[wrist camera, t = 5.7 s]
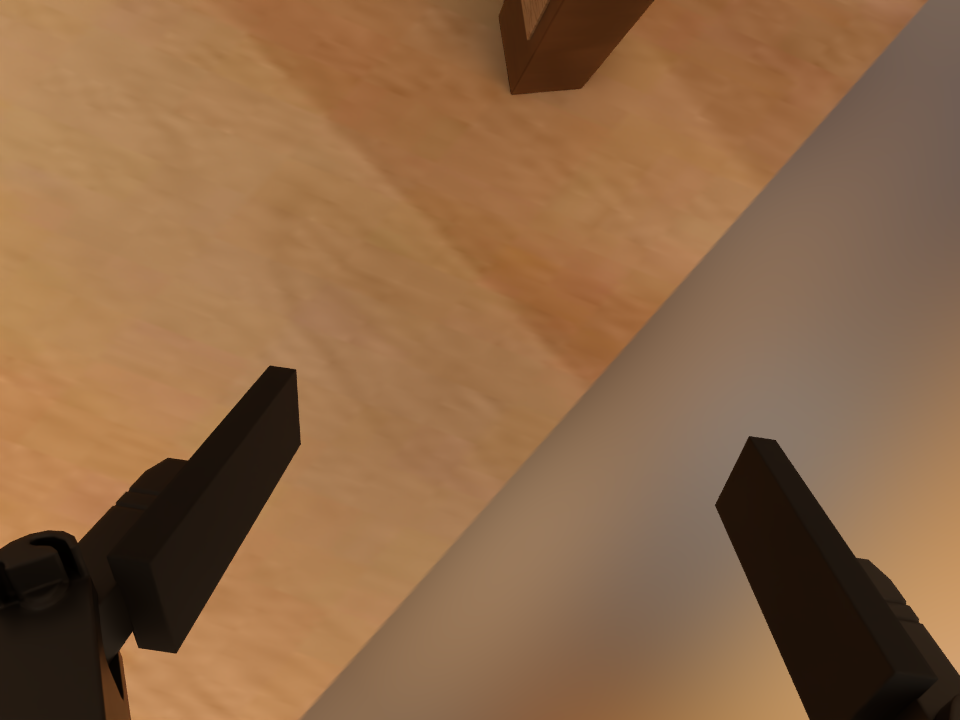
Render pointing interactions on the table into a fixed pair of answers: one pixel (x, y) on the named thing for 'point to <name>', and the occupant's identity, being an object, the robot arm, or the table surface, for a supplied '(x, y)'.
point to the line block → (562, 39)
